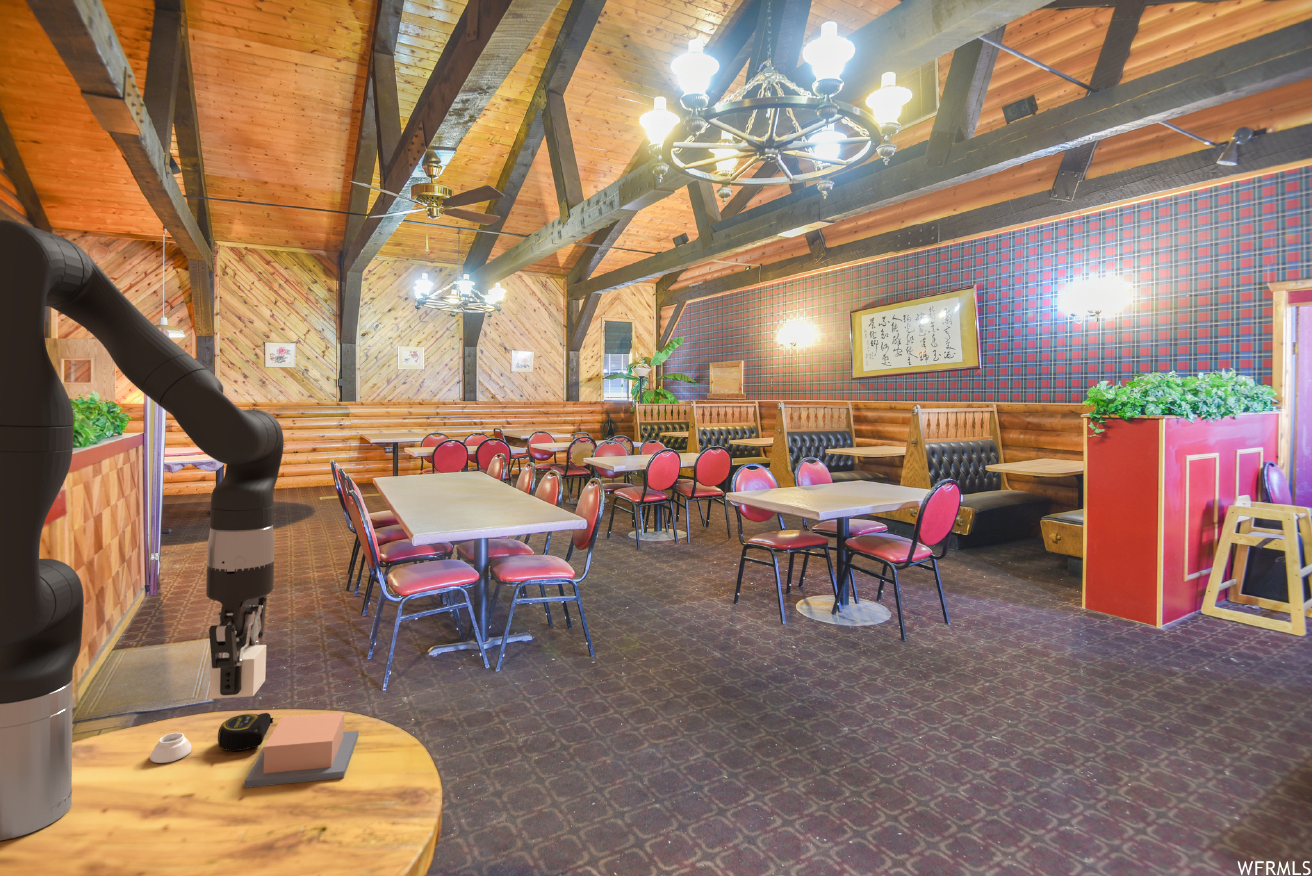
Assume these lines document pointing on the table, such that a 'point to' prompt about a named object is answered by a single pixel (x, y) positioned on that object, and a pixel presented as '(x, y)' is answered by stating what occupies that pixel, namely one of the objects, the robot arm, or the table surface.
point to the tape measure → (243, 731)
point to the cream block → (243, 673)
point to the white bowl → (171, 748)
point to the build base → (305, 774)
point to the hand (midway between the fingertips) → (238, 684)
